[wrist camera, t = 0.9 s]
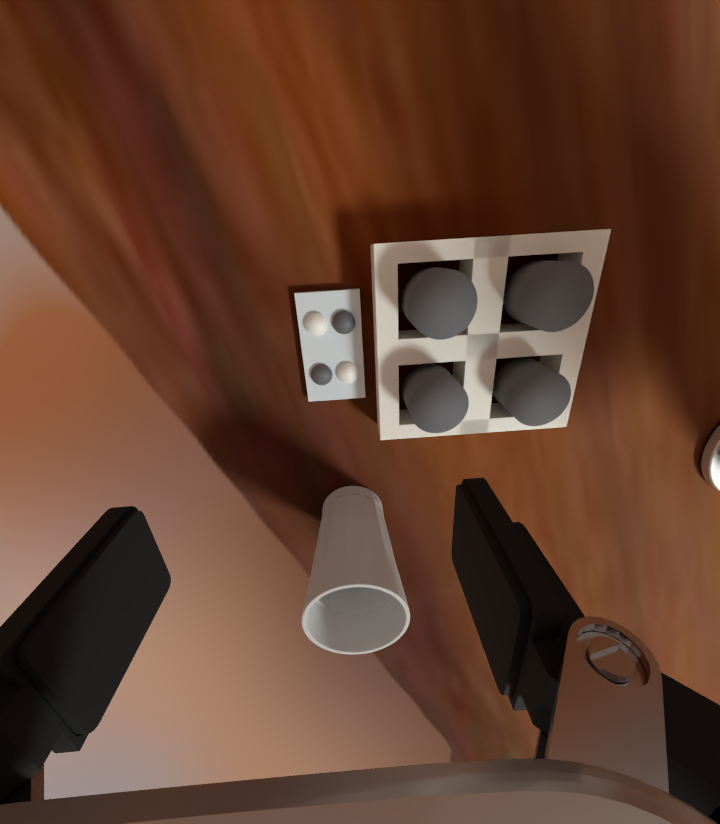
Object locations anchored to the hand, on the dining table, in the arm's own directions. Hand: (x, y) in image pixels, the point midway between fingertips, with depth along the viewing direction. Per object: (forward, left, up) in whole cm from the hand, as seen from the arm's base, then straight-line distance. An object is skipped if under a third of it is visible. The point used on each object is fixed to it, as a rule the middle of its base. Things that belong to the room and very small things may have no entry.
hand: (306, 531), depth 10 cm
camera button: (-16, -4, -18) cm, 24 cm away
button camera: (-8, -4, -18) cm, 20 cm away
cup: (-1, +17, -21) cm, 27 cm away
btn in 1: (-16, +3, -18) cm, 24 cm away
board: (-12, 0, -20) cm, 24 cm away
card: (0, 0, -20) cm, 20 cm away
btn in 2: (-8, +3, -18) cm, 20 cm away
